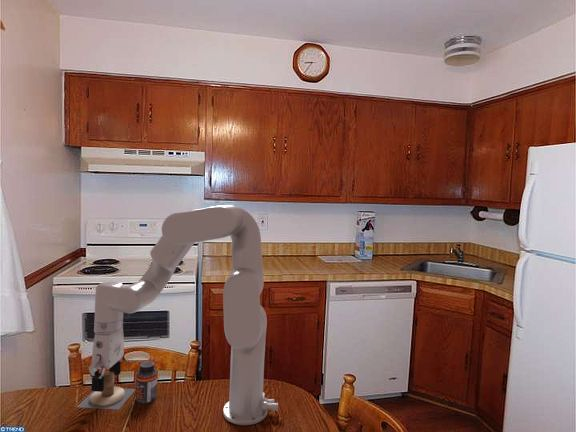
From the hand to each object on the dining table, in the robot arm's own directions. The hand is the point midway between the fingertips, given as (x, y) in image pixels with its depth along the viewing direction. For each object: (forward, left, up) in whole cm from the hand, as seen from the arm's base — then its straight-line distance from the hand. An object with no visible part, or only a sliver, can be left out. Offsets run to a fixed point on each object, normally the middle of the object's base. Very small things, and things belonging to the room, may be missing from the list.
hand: (106, 382), depth 107 cm
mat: (0, 0, -6) cm, 6 cm away
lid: (0, 0, -5) cm, 5 cm away
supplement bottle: (-11, -1, -6) cm, 13 cm away
